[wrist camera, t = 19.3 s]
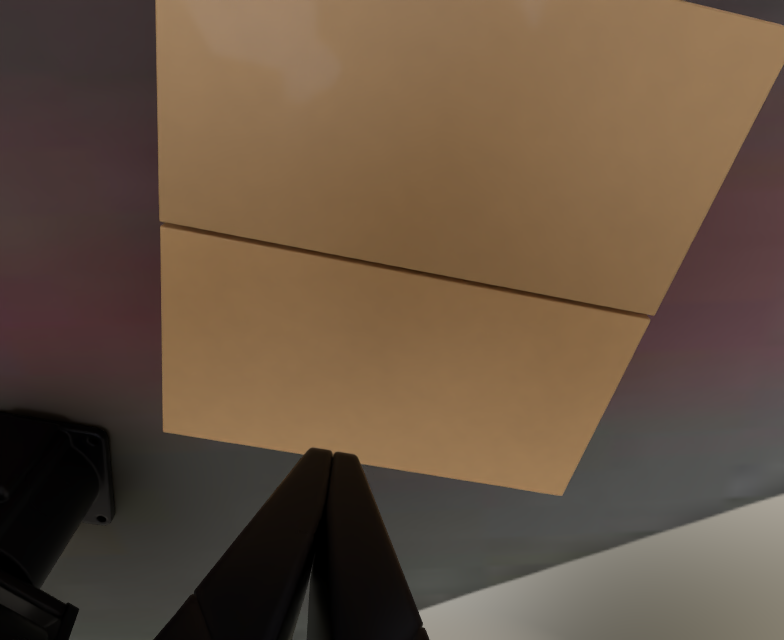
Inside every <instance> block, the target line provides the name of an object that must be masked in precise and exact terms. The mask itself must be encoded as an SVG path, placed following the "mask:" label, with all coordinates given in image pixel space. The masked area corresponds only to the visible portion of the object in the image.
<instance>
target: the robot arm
mask: <svg viewBox="0 0 784 640" xmlns="http://www.w3.org/2000/svg"><path fill="white" fill-rule="evenodd" d="M95 438H96V439H95ZM114 515H115V511H114V499H113V488H112V476H111V464H110V452H109V441H108V435H107V434H106V432H105V431H103V430H102V429H99V428H94V427H88V426H82V425H76V424H69V423H63V422H57V421H51V420H44V419H38V418H32V417H26V416H19V415H13V414H7V413H1V412H0V640H69V637H70V634H71V631H72V628H73V625H74V623H75V620H76V617H77V614H78V611H79V608H77V607H75V606H74V605H72V604H70V603H66V604H65V603H63V602H61V601H60V600H58V599H56V598H54V597H53V596H51V595H49V594H47V593H46V592H44V591H42V590H40V588H41V586H42V584H43V583H44V581H45V580H46V578H47V576H48V575H49V573H50V572H51V570H52V568H53V567H54V565H55V563H56V562H57V560H58V559H59V557H60V555H61V554H62V552H63V551H64V549H65V547H66V546H67V544H68V542H69V541H70V539H71V538H72V536H73V534H74V533H75V531H76V530H77V528H78V526H79V525H80V523H81V522H83V523H90V524H97V525H109V524H110V523H111V521H112V520H113V518H114ZM312 564H313V565H312ZM311 569H312V572H311ZM310 573H311V579H310V591H309V608H308V626H307V640H429V637H428V635H427V632H426V630H425V628H423V627H422V625H423V622H422V620H421V617H420V615H419V612H418V610H417V607H416V604H415V602H414V599H413V597H412V594H411V592H410V589H409V587H408V584H407V581H406V579H405V576H404V574H403V571H402V569H401V566H400V563H399V561H398V558H397V556H396V553H395V551H394V548H393V545H392V543H391V540H390V538H389V535H388V533H387V530H386V528H385V525H384V522H383V520H382V517H381V515H380V512H379V510H378V507H377V504H376V502H375V499H374V497H373V494H372V492H371V489H370V487H369V484H368V481H367V479H366V476H365V474H364V471H363V469H362V466H361V463H360V461H359V459H358V457H357V456H356V455H355V454H350V453H344V452H335V453H334V454H333V453H332V451H331V450H327V449H321V448H315V447H312V448H310V449H308V450H307V451H306V453H305V454H304V455H303V456H302V458H301V459H300V460H299V461H298V463H297V464H296V465H295V466H294V468H293V469H292V470H291V471H290V473H289V474H288V475H287V476H286V478H285V479H284V480H283V481H282V483H281V484H280V485H279V486H278V487H277V489H276V490H275V491H274V492H273V494H272V495H271V496H270V497H269V499H268V500H267V501H266V502H265V504H264V505H263V506H262V507H261V509H260V510H259V511H258V512H257V514H256V515H255V516H254V517H253V519H252V520H251V521H250V522H249V523H248V525H247V526H246V527H245V528H244V530H243V531H242V532H241V533H240V535H239V536H238V537H237V538H236V540H235V541H234V542H233V543H232V545H231V546H230V547H229V548H228V550H227V551H226V552H225V553H224V555H223V556H222V557H221V558H220V560H219V561H218V562H217V563H216V564H215V566H214V567H213V568H212V569H211V571H210V572H209V573H208V574H207V576H206V577H205V578H204V579H203V581H202V582H201V583H200V584H199V586H198V587H197V588H196V589H195V591H194V594H192V595H190V596H189V598H188V599H187V600H186V601H185V603H184V604H183V605H182V606H181V608H180V609H179V610H178V611H177V612H176V614H175V615H174V616H173V617H172V618H171V620H170V621H169V622H168V623H167V624H166V625H165V627H164V628H163V629H162V630H161V631H160V632H159V634H158V635H157V636H156V637H155V638H154V640H292V636H293V633H294V630H295V627H296V623H297V620H298V617H299V613H300V610H301V607H302V603H303V600H304V597H305V593H306V589H307V586H308V582H309V578H310Z"/></svg>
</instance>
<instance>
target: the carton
mask: <svg viewBox="0 0 784 640" xmlns="http://www.w3.org/2000/svg"><path fill="white" fill-rule="evenodd" d="M155 2H156V60H157V117H158V175H159V220H160V221H162V222H167V223H172V224H177V225H183V226H188V227H193V228H198V229H203V230H209V231H214V232H219V233H224V234H230V235H235V236H240V237H245V238H250V239H256V240H261V241H266V242H271V243H277V244H282V245H287V246H292V247H297V248H303V249H308V250H313V251H318V252H324V253H329V254H334V255H339V256H345V257H350V258H355V259H360V260H365V261H371V262H376V263H381V264H386V265H392V266H397V267H402V268H407V269H412V270H418V271H423V272H428V273H433V274H439V275H444V276H449V277H454V278H459V279H465V280H470V281H475V282H480V283H486V284H491V285H496V286H501V287H507V288H512V289H517V290H522V291H527V292H533V293H538V294H543V295H548V296H554V297H559V298H564V299H569V300H574V301H580V302H585V303H590V304H595V305H601V306H606V307H611V308H616V309H621V310H627V311H632V312H637V313H642V314H648V315H653V316H654V315H655V314H656V312H657V310H658V308H659V306H660V304H661V302H662V300H663V298H664V296H665V294H666V292H667V290H668V288H669V286H670V284H671V282H672V280H673V278H674V277H675V275H676V273H677V271H678V269H679V267H680V265H681V263H682V261H683V259H684V257H685V255H686V253H687V251H688V249H689V247H690V245H691V243H692V241H693V240H694V238H695V236H696V234H697V232H698V230H699V228H700V226H701V224H702V222H703V220H704V218H705V216H706V214H707V212H708V210H709V208H710V206H711V204H712V203H713V201H714V199H715V197H716V195H717V193H718V191H719V189H720V187H721V185H722V183H723V181H724V179H725V177H726V175H727V173H728V171H729V169H730V167H731V166H732V164H733V162H734V160H735V158H736V156H737V154H738V152H739V150H740V148H741V146H742V144H743V142H744V140H745V138H746V136H747V134H748V132H749V130H750V128H751V127H752V125H753V123H754V121H755V119H756V117H757V115H758V113H759V111H760V109H761V107H762V105H763V103H764V101H765V99H766V97H767V95H768V93H769V91H770V90H771V88H772V86H773V84H774V82H775V80H776V78H777V76H778V74H779V72H780V70H781V68H782V66H783V64H784V26H783V25H781V24H777V23H773V22H769V21H765V20H761V19H756V18H752V17H748V16H744V15H740V14H736V13H732V12H728V11H723V10H719V9H715V8H711V7H707V6H703V5H699V4H694V3H690V2H686V1H682V0H155Z"/></svg>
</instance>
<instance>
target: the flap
mask: <svg viewBox="0 0 784 640" xmlns="http://www.w3.org/2000/svg"><path fill="white" fill-rule="evenodd" d="M160 240H161V318H162V395H163V432H167V433H173V434H179V435H185V436H191V437H198V438H204V439H210V440H216V441H223V442H229V443H235V444H241V445H247V446H254V447H260V448H266V449H272V450H279V451H285V452H291V453H297V454H303V455H304V454H305V453H306V451H307V450H308V449H310V448H312V447H315V448H321V449H327V450H331V451H332V453H333V454H334V453H335V452H344V453H350V454H355V455H356V456H357V457H358V459H359V461H360V463H361V464H366V465H372V466H378V467H384V468H390V469H397V470H403V471H409V472H415V473H422V474H428V475H434V476H440V477H446V478H453V479H459V480H465V481H471V482H478V483H484V484H490V485H496V486H502V487H509V488H515V489H521V490H527V491H534V492H540V493H546V494H552V495H558V496H562V495H563V493H564V491H565V489H566V487H567V485H568V483H569V481H570V479H571V477H572V475H573V473H574V471H575V469H576V467H577V465H578V463H579V461H580V459H581V457H582V455H583V453H584V451H585V449H586V447H587V445H588V443H589V441H590V439H591V437H592V435H593V433H594V431H595V429H596V427H597V425H598V423H599V421H600V419H601V417H602V416H603V414H604V412H605V410H606V408H607V406H608V404H609V402H610V400H611V398H612V396H613V394H614V392H615V390H616V388H617V386H618V384H619V382H620V380H621V378H622V376H623V374H624V372H625V370H626V368H627V366H628V364H629V362H630V360H631V358H632V356H633V354H634V352H635V350H636V348H637V346H638V344H639V342H640V340H641V338H642V336H643V334H644V332H645V330H646V328H647V326H648V324H649V323H650V318H649V317H648V316H647V315H646V314H642V313H637V312H632V311H627V310H621V309H616V308H611V307H606V306H601V305H595V304H590V303H585V302H580V301H574V300H569V299H564V298H559V297H554V296H548V295H543V294H538V293H533V292H527V291H522V290H517V289H512V288H507V287H501V286H496V285H491V284H486V283H480V282H475V281H470V280H465V279H459V278H454V277H449V276H444V275H439V274H433V273H428V272H423V271H418V270H412V269H407V268H402V267H397V266H392V265H386V264H381V263H376V262H371V261H365V260H360V259H355V258H350V257H345V256H339V255H334V254H329V253H324V252H318V251H313V250H308V249H303V248H297V247H292V246H287V245H282V244H277V243H271V242H266V241H261V240H256V239H250V238H245V237H240V236H235V235H230V234H224V233H219V232H214V231H209V230H203V229H198V228H193V227H188V226H183V225H177V224H172V223H167V222H165V223H164V224H163V225H162V226H161V227H160Z"/></svg>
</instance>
